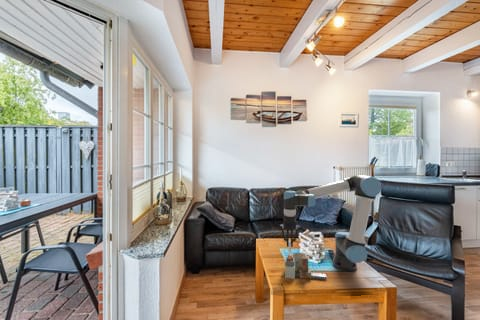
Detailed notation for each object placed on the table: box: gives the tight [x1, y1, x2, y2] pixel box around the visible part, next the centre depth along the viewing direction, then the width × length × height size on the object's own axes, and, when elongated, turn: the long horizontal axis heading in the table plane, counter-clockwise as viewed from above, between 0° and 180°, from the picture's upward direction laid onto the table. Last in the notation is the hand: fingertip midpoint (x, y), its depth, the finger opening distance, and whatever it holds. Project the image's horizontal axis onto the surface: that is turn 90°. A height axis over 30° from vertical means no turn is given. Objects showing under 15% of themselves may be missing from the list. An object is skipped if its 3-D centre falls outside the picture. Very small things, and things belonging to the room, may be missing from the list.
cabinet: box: [284, 256, 296, 280], centre depth 147 cm, size 6×9×10 cm, turn 168°
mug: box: [292, 252, 307, 271], centre depth 153 cm, size 8×13×10 cm, turn 79°
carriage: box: [299, 255, 312, 280], centre depth 145 cm, size 7×6×12 cm
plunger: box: [287, 253, 293, 261], centre depth 147 cm, size 3×3×3 cm
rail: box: [295, 270, 327, 281], centre depth 144 cm, size 19×4×2 cm, turn 78°
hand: (289, 251), depth 147 cm, fingers closed
